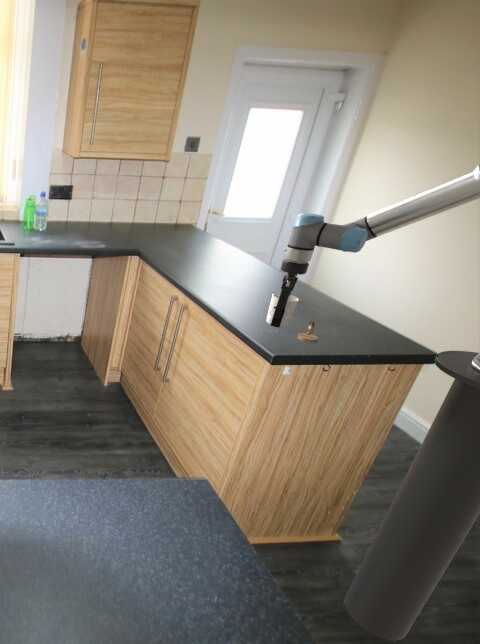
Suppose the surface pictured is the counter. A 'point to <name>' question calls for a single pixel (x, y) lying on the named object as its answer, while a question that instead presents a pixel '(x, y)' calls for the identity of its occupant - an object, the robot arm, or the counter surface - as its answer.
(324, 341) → the counter surface
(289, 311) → the white cup
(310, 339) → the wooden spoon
